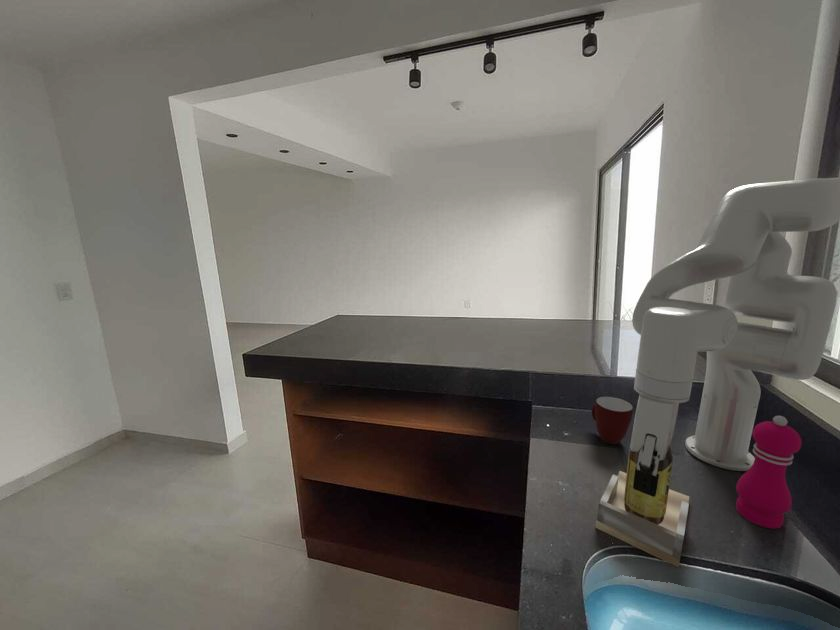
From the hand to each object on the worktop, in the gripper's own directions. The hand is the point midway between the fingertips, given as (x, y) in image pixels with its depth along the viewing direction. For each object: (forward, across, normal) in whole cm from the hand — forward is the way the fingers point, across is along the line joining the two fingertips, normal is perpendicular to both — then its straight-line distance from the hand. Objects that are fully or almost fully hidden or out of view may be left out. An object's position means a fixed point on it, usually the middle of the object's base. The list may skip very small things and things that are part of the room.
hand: (647, 480), depth 61 cm
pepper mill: (+10, -16, +16) cm, 25 cm away
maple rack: (+9, -3, 0) cm, 10 cm away
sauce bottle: (+7, 0, 0) cm, 7 cm away
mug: (+10, -26, -12) cm, 30 cm away
